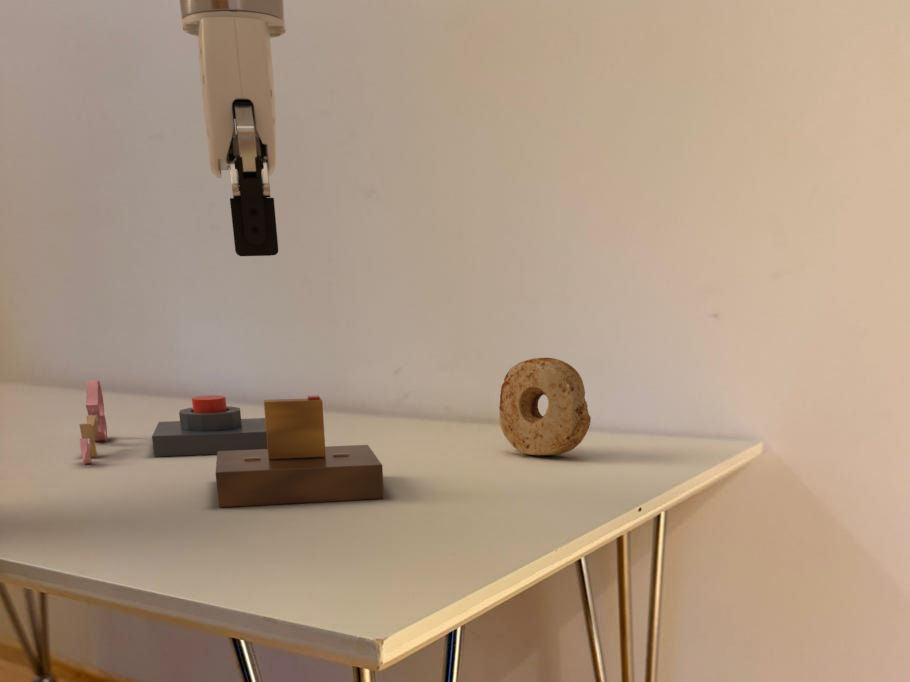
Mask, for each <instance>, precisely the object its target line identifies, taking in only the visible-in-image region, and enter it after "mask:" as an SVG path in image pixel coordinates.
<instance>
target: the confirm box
mask: <svg viewBox="0 0 910 682" xmlns="http://www.w3.org/2000/svg"><path fill="white" fill-rule="evenodd" d="M226 407H227V411H225V412H216V413H194V412H193V407H188V408H183V409H180V410H179V412H178V416H179V420H175V421H174V420H173V421H170V420H169V421H158V423H157V424H156V427H155V429H154V431H153V433H152V436H151V440H152V448H153V456H154V457H155V458H158V457H160V458H161V457H183V456H206V455H208V456H209V455H217V452H218V451H233V450H257V449H268V447H267V435H266V423H265V417H258V418H257V417H255V418H242V413H241V408H240V407H236V406H231V405H230V406H228V405H226Z"/></svg>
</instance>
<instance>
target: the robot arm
mask: <svg viewBox="0 0 910 682" xmlns="http://www.w3.org/2000/svg"><path fill="white" fill-rule="evenodd" d="M179 6H180V7H179V8H180V14H181V27H182V30H183V31H184V32H185V33H186V34H189V35H191V36H195V37H197V39H198V41H197V42H198V61H199V62H198V63H199V72H200V82H201V83H200V84H201V93H202V103H203V113H204V121H205V131H206V138H207V147H208V155H209V156H208V157H209V165H210V171H211V173H212V174H213V175H214V176H215V177H216V178H217V179H222V171H229V172H230V180H231V190H232V197H230V198H229V205H230V213H231V222H232V232H233V242H234V250H235V251H234V252H235V253H236V255H237V256H239V257H271V256H276V255H278V253H279V243H278V242H279V241H278V231H277V230H278V229H277V220H276V219H277V218H276V208H275V198H274V197H271V187H270V186H271V185H270V177H271V176H272V174H274V172H275V169H276V157H277V118H276V117H277V116H276V97H275V96H276V95H275V85H274V71H273V69H274V68H273V58H272V57H273V56H272V45H271V39H273V38H278V37H280V36H282V35H284V34H285V33H286V20H285V19H286V18H285V8H284V0H179Z"/></svg>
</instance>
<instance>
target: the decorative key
mask: <svg viewBox="0 0 910 682" xmlns="http://www.w3.org/2000/svg"><path fill="white" fill-rule="evenodd" d="M85 390H86V391H85V393H86V394H85V397H86V399H85V408H86V411H87V415H86V423H79V424H78V425H79V430H80V435H81V438H79V445H80V453H81V459H82V463H83V464H84V465H92V464H93V463H92V459H93V458H95V459H97V458H98V452H97V447H96V442H107V441H108V427H107V420H106V414H105V404H104V403H105V401H104V395H103V390H102V385H101V381H100V380H86V383H85Z"/></svg>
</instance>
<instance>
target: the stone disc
mask: <svg viewBox="0 0 910 682" xmlns="http://www.w3.org/2000/svg"><path fill="white" fill-rule="evenodd" d="M500 387H501V388H500V395H499V407H498V408H499V426H500V429H501V432H502V434H503V436H504V437H505V439H506V440H507V441H508V443H509V445H510V446H512V447H513V448H514V449H515V450H517V451H518V452H520V453H521V454H525V455H529V456H557V455H562V454H566V453H568V452H571V451H573V450H574V449H575V448H576V447H578V446H579V445H580V444H581V443H582V441H583V440H584V439H585V437H586V435H587V433H588V431H589V429H590V427H591V426H590V425H591V421H592V420H591V419H592V417H591V415H590V414H589V413H590V412H589V410H588V402H587V401H586V390H585V385H584V381H583V379H582V376H581V375H580V373H579V372H578V370H576V369H575V368H574V367H573V366H572V365H571V364H569V363H568V362H566V361H563V360H561V359H558V358H554V357H535V358H530V359H526V360H522V361H521V362H518V363H516V364H515V365H513V366H511V368H510V369H509V370H508V372H507V373H506V374H505V376H504V378H503V383H502V384H501V386H500ZM542 396H545V397H546V399H547V402H548V403H547V408H546V411H545V414H543V415H542V414H541V413H540V410H539V400H540V399H541V397H542Z"/></svg>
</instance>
